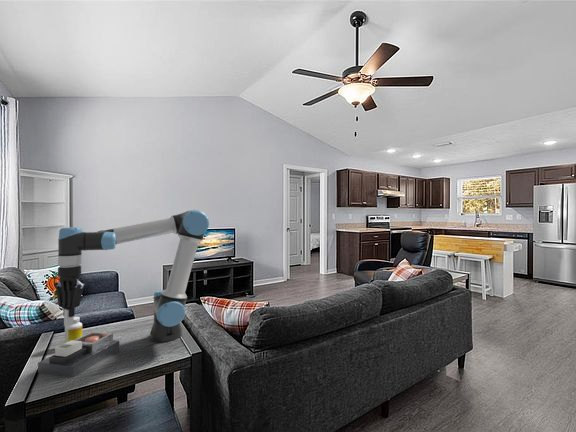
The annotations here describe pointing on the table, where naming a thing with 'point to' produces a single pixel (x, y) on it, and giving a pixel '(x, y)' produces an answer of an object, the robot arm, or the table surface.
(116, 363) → the table surface
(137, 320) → the table surface
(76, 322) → the supplement bottle
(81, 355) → the grey stepped block
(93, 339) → the breaker button
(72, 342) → the on button
